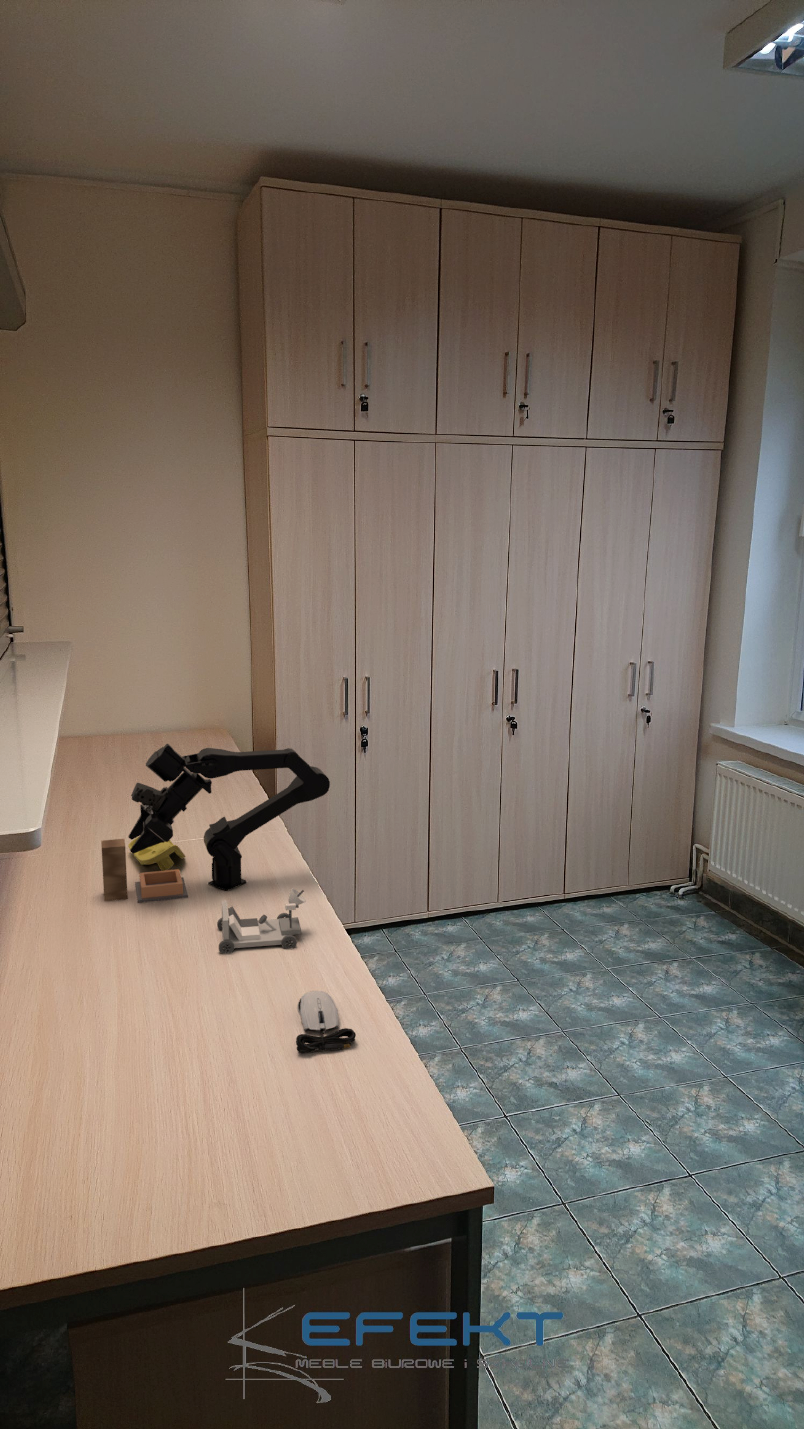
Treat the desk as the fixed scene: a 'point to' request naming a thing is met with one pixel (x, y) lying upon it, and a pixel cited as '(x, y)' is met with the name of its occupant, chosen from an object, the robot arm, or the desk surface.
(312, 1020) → the computer mouse
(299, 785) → the robot arm
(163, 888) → the socket board
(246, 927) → the toy car
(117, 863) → the walnut post
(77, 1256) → the desk surface
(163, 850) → the plastic component
